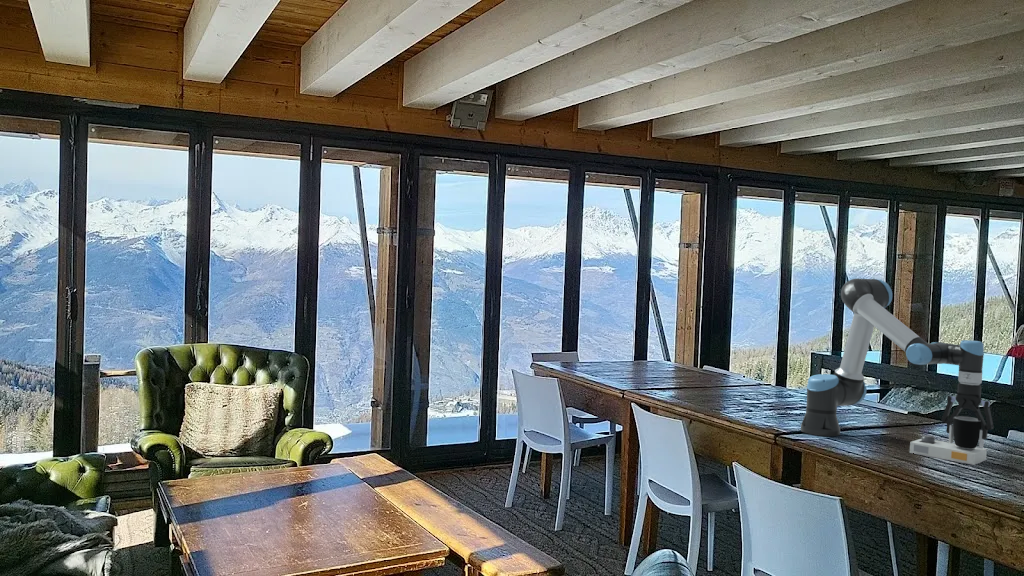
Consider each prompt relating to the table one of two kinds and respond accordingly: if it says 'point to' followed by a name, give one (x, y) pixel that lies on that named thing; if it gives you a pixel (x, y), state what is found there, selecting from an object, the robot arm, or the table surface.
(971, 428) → the mug
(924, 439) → the dark grey rounded piece
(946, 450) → the white rectangular box
